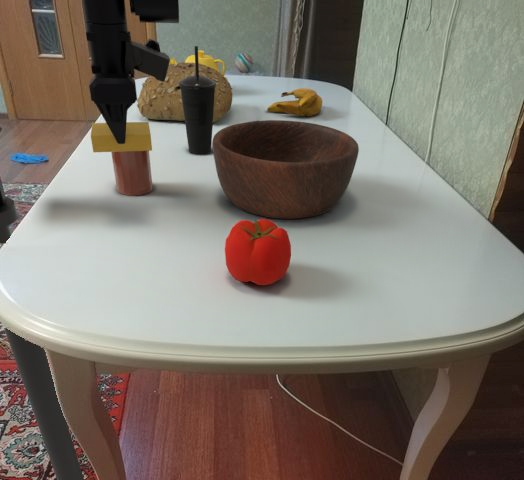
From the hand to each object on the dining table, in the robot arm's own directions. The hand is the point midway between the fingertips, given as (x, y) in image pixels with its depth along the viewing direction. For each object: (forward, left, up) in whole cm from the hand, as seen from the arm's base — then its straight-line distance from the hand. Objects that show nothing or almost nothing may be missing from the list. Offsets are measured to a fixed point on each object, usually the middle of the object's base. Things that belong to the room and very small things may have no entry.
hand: (121, 136), depth 81 cm
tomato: (+16, -29, -11) cm, 35 cm away
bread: (+17, +57, -11) cm, 61 cm away
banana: (+47, +57, -11) cm, 75 cm away
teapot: (+24, +82, -11) cm, 86 cm away
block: (0, 0, -1) cm, 1 cm away
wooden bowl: (+27, -2, -11) cm, 29 cm away
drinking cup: (+16, +26, -11) cm, 33 cm away
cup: (+1, +6, -11) cm, 13 cm away
